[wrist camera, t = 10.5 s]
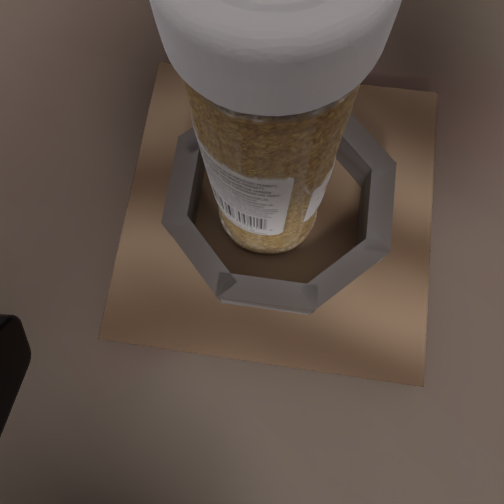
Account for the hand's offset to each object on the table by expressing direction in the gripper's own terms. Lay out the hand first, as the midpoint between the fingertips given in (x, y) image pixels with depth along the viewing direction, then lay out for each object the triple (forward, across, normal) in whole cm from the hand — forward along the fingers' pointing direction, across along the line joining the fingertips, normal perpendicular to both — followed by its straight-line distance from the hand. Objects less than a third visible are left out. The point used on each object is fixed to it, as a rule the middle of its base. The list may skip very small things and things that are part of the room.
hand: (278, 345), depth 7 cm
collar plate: (+13, 0, +4) cm, 14 cm away
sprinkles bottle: (+13, 0, +4) cm, 13 cm away
